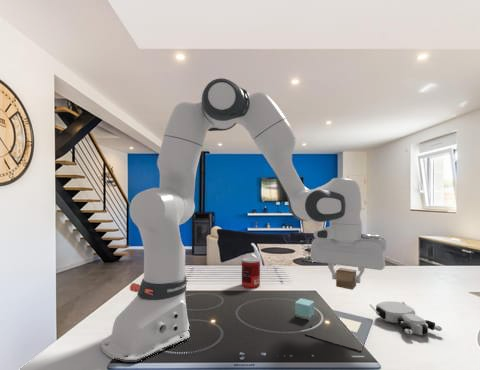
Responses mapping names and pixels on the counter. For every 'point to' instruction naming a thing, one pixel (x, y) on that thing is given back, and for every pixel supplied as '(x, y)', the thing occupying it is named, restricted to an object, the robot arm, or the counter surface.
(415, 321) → the robot toy
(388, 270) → the counter surface
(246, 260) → the canned food
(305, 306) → the teal block
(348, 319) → the mat
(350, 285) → the walnut block
